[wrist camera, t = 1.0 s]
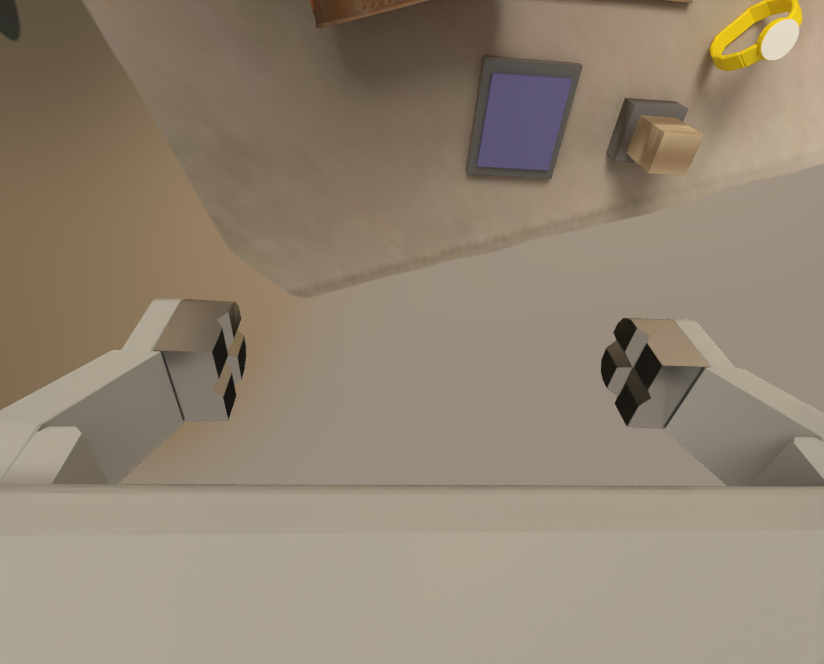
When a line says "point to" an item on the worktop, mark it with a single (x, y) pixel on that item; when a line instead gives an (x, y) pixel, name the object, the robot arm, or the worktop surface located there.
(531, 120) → the ink pad
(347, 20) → the tin
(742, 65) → the watch
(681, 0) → the board
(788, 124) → the worktop surface
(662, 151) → the stamp
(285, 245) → the worktop surface
